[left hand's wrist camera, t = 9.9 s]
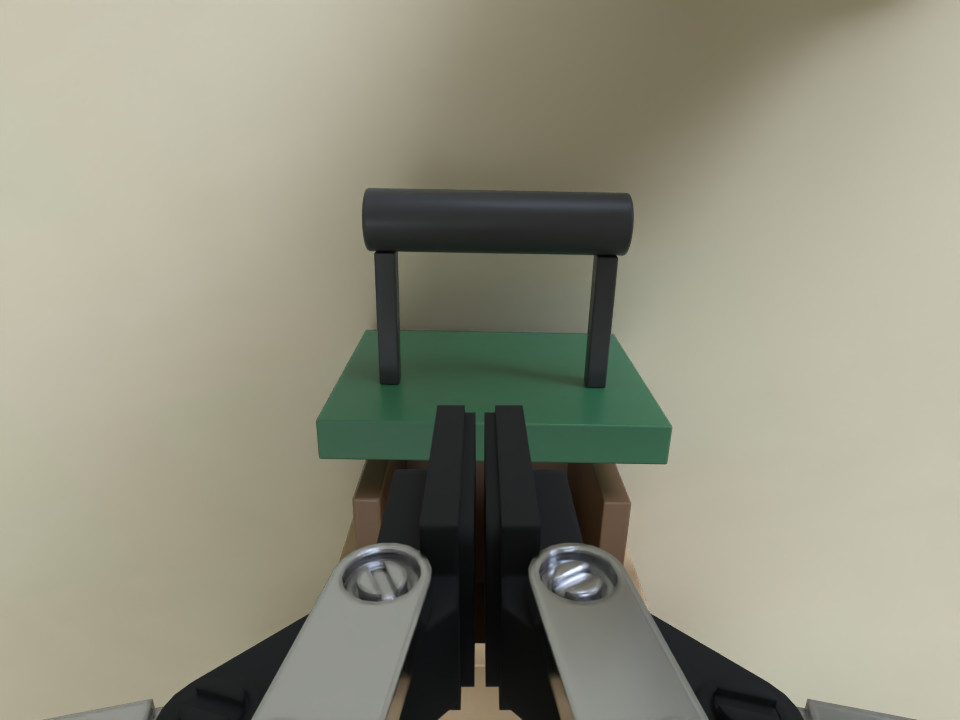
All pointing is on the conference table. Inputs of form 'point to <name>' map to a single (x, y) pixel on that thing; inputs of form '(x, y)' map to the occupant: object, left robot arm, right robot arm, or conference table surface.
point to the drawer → (497, 362)
